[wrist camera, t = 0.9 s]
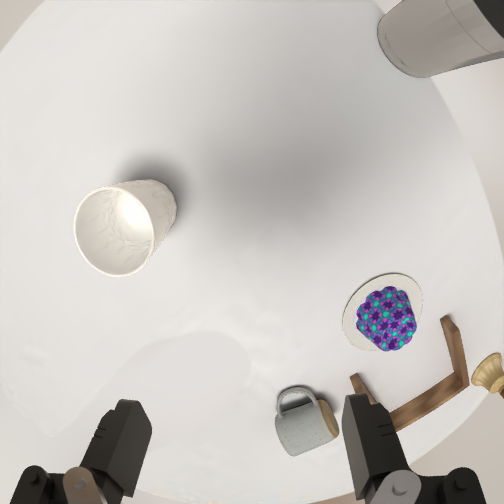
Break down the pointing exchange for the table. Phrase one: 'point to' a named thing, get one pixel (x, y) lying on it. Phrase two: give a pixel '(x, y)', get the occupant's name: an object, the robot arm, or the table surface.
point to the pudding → (383, 314)
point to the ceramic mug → (305, 424)
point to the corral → (436, 393)
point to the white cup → (123, 225)
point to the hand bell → (490, 374)
